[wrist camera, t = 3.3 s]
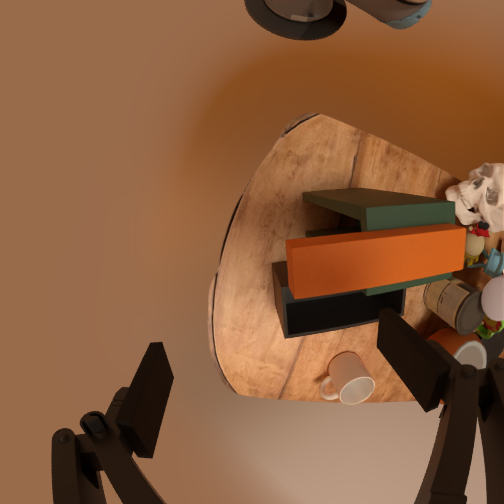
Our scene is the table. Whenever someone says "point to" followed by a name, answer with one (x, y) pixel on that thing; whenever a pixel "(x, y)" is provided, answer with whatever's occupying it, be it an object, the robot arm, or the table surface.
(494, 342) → the board
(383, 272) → the orange rectangular bar
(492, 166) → the white skull
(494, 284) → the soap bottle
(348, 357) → the mug
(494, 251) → the chair
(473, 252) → the toy
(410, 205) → the stand
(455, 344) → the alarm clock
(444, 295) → the coffee can
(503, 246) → the white folded paper piece
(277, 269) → the black open rectangular box
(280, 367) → the table surface
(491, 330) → the taco
